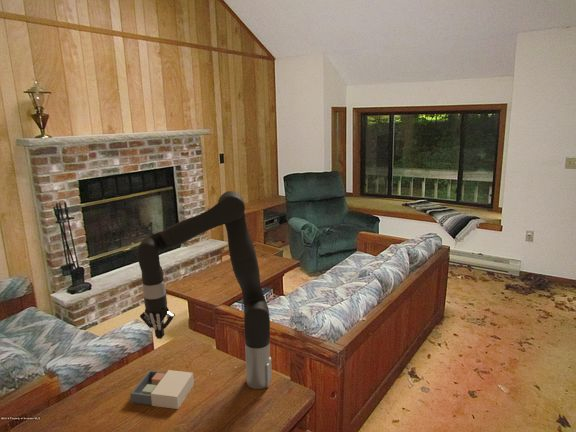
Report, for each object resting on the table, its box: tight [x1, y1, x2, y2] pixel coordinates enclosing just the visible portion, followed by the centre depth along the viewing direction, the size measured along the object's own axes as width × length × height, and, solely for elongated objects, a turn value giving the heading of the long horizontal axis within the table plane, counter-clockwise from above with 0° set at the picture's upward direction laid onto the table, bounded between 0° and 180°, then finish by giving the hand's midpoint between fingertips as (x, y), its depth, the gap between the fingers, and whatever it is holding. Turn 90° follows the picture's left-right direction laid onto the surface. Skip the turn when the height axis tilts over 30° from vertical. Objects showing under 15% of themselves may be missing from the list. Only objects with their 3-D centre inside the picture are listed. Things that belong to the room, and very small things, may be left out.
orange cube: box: [152, 373, 165, 386], centre depth 160 cm, size 4×4×4 cm
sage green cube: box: [142, 384, 156, 394], centre depth 153 cm, size 4×4×4 cm
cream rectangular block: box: [151, 369, 195, 410], centre depth 155 cm, size 10×14×5 cm
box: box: [130, 369, 168, 406], centre depth 157 cm, size 8×14×4 cm, turn 169°
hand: (160, 337), depth 152 cm, fingers closed
